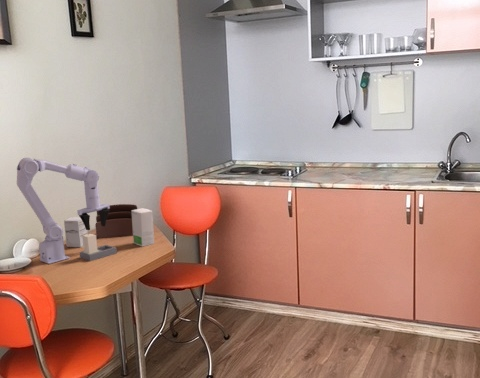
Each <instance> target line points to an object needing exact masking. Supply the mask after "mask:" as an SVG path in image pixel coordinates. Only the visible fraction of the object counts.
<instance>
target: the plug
mask: <svg viewBox="0 0 480 378" xmlns="http://www.w3.org/2000/svg"><path fill="white" fill-rule="evenodd" d="M82 237H83V246H82V247H83V251H84V252H86V253H93V252H96V251H98V249H97V247H98V241H97V236H96V234H94V233H89V234H88V233H87V235H84V236H82Z"/></svg>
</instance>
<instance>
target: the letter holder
mask: <svg viewBox="0 0 480 378" xmlns="http://www.w3.org/2000/svg"><path fill="white" fill-rule="evenodd" d="M109 206H110V209H108V210H109V213H108V216H107V219H106V225H105V226H102V225H101V219H100V214H99V211H96V216H95V219H96V220H95V233H96V234H95V235H96V239H103V238H106V239H107V238H117V237H129V236H133V227H132V211H131V210H136V209H138V206H137V205H136V204H129V203H128V204H126V203H122V204H121V203H120V204H112V205H111V204H109Z"/></svg>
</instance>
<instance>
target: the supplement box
mask: <svg viewBox="0 0 480 378" xmlns="http://www.w3.org/2000/svg"><path fill="white" fill-rule="evenodd" d="M63 224H64V234H65V244H66V245H65V246H66V247H67V248H83V247H84V246H83V237H82V236H84V235H87V234H88V230H86V228H85V225H84V223H83V221H82V219H81V218H80V217H79V216H71V217H69V218H66V219H65V220H63Z"/></svg>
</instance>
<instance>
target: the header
mask: <svg viewBox="0 0 480 378" xmlns="http://www.w3.org/2000/svg"><path fill="white" fill-rule="evenodd" d="M97 249H98V251H96V252H93V253H86V252H84V250H82V251H80V252H79V258H80V259H82V260H86V261H89V262H93V261H96V260H99V259H103V258H105V257H106V258H107V257H109V256H112V255H116V254H117V253H118V250H117V247H116V246H111V245H108V244H104V245H100V246H97Z"/></svg>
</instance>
